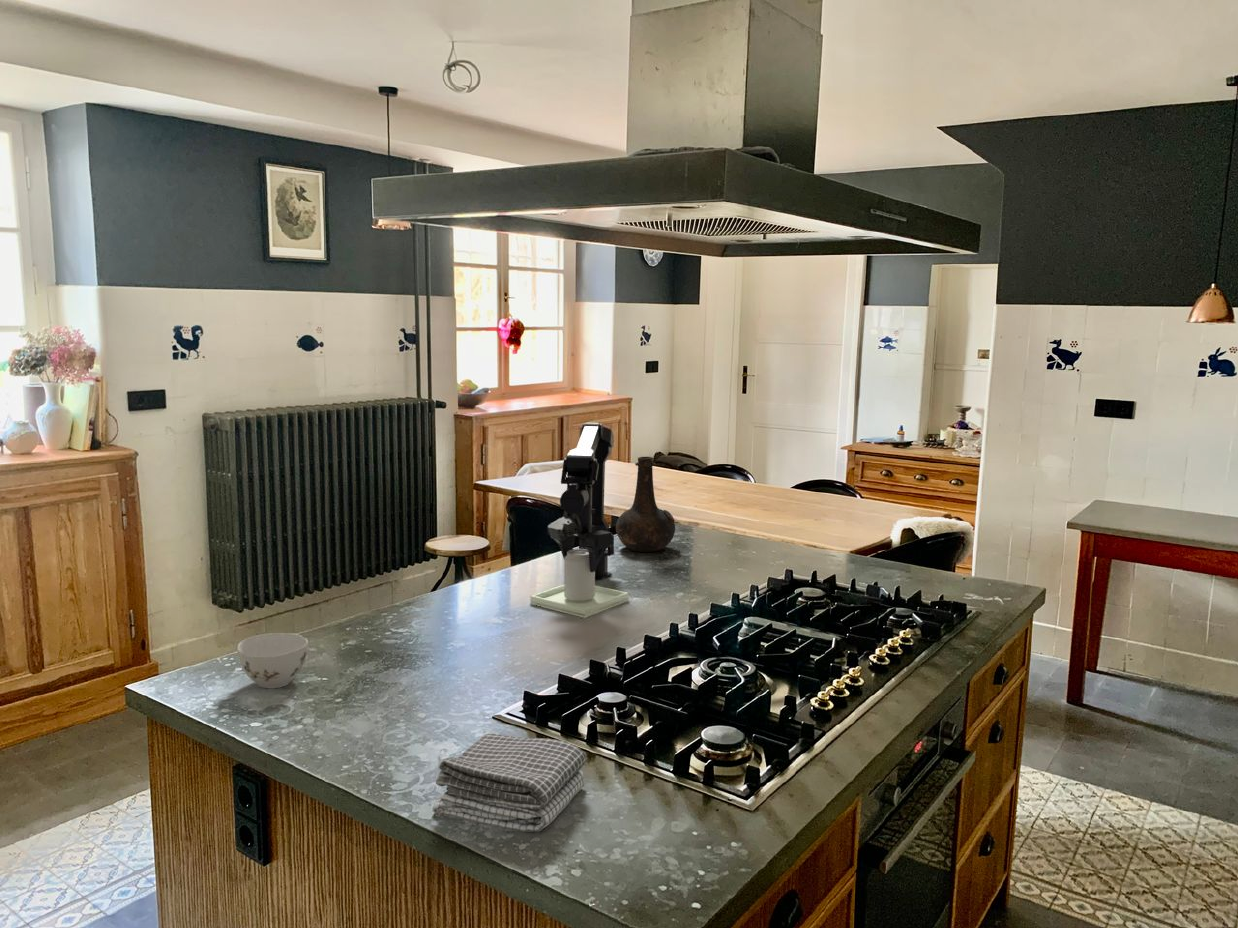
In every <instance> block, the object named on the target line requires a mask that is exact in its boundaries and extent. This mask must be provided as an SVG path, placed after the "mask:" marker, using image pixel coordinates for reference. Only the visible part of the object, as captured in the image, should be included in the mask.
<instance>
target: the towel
mask: <svg viewBox="0 0 1238 928" xmlns="http://www.w3.org/2000/svg"><path fill="white" fill-rule="evenodd" d="M587 760H588V758H587V755H586V754H585V752H584V751H583V750H582V749H581V748H580V747H578V746H576V745H575V744H573V743H570V742H568V741H565V740H561V739H555V738H553V739H552V738H545V737H544V738H543V737H542V738H541V737H530V738H529V737H516V736H509V735H502V734H497V733H486V734H485V735H484V736H482V737H480V739H478V740H476V742H475V743H473V744H472V745H471V746H470V747H469V748H467V749H466V750H465V751H463V753H461V754H460V755H459V756H457V757H447V758H443V759H442V760H441V761H440V763H439V766H438V768H439V770H440V772H439V773H438V777H437V779H436V780H435V784H436V785H437V786H439V787H446V789H445V791H444V792H443V793H442V794H441V795H440V797H439V798H438V800H437V801H436V803H435V804H434V805H433V809H432V812H433V813H434V814H435V815H438V816H444V817H449V818H452V819H459V820H464V821H467V822H471V823H477V824H482V825H486V826H491V827H497V828H501V829H506V830H511V831H517V832H522V833H528V832H530V833H537V832H538V833H539V832H541V831H543V829H544V828H545V827H547V826H549V825H550V824H551V823H552V822H553V821H554V820H555V819H556V818H557V817H558V815H559V814H560V813H561V812H562V811H563V810H564V809H565V808H566V807H567V806H568V804H570V802H571V801H572V799H573V798H574V797H575V796H576V795H577V794H578V793H579V792H580V791H581V790H582V789H583V788H584V787H585V785H586V778H585V776H584V772H583V771H582V768H583V766H584V765H585V764H587Z"/></svg>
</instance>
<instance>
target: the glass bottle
mask: <svg viewBox="0 0 1238 928" xmlns="http://www.w3.org/2000/svg"><path fill="white" fill-rule="evenodd" d="M653 460H654V458H653V457H652V456H639V457H637V462H636V463H634V465H635V466H637V473H636V475H637V477H636V485H635V494H634V498H633V504H632V505H631V507H630V508H629V509H627V510H625V511H624V512H622V514H620V516H619V517H618V518H617V520H616V524H615V531H616V535H617V537H618V539H619V540H620V542H621V543H622V544H623V546H625V547H626V548H627V549H630V550H632V551H636V552H639V553H640V552H641V553H650V552H658V551H659V550H660V551H661V550H662V549H665V548H666V547H667V546H668V545H669V544H670V543H671V542H672V540H673V538H674V536H675V532H676V523H675V521H676V520H675V518H674V516H673V515H672V514H671V513H670V512H669V511H668V510H666V509H660V508H659V507H658V505H657V503H656V497H655V489H654V475H653V472H654V471H653V467H654V466H656V463H655V462H653Z"/></svg>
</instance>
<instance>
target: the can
mask: <svg viewBox="0 0 1238 928" xmlns="http://www.w3.org/2000/svg"><path fill="white" fill-rule="evenodd" d="M563 564H564V565H563V566H564V567H563V568H564V571H563V572H564V577H563V579H564V582H563V585H564V597H566V598H567V599H568V600H569V601H571V602H577V603H582V602H588V601H590V600H591V599H592V598H593V597H594V596H595V585H596V579H595V571H594V572H590V566H589V551H588V550H586V549H579V548H575V549H574V548H573V550H569V551H568V552H567V555H566V556H565V558H563Z"/></svg>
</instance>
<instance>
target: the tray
mask: <svg viewBox="0 0 1238 928" xmlns="http://www.w3.org/2000/svg"><path fill="white" fill-rule="evenodd" d="M529 600H530V605H533V606H536V605H537V607H540V606H541V608H545V609H550V610H552V611H556V612H560V613H563V614H564V613H565V614H568V615H571V616H576V617H581V618H583V619H584V618H585V619H586V618H588V617H590V616H594V615H595V614H598V613H600V612H603V611H606V610H609V609H611V608H614V607H616V606H619V605H621V604H624V603H627V602H628V601H629V592H626V591H621V590H617V589H613V588H608V587H604V586H600V585H597V584H595V596H594V597H593V598H592V599H591V600H590V601H588V602H582V603H577V602H571V601H569V600H568V599H567V598H566V597H564V584H562V585H559V586H555V587H553V588H550V589H546V590H544V591H541V592H539V593H535V594H532V595H530V599H529Z"/></svg>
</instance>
